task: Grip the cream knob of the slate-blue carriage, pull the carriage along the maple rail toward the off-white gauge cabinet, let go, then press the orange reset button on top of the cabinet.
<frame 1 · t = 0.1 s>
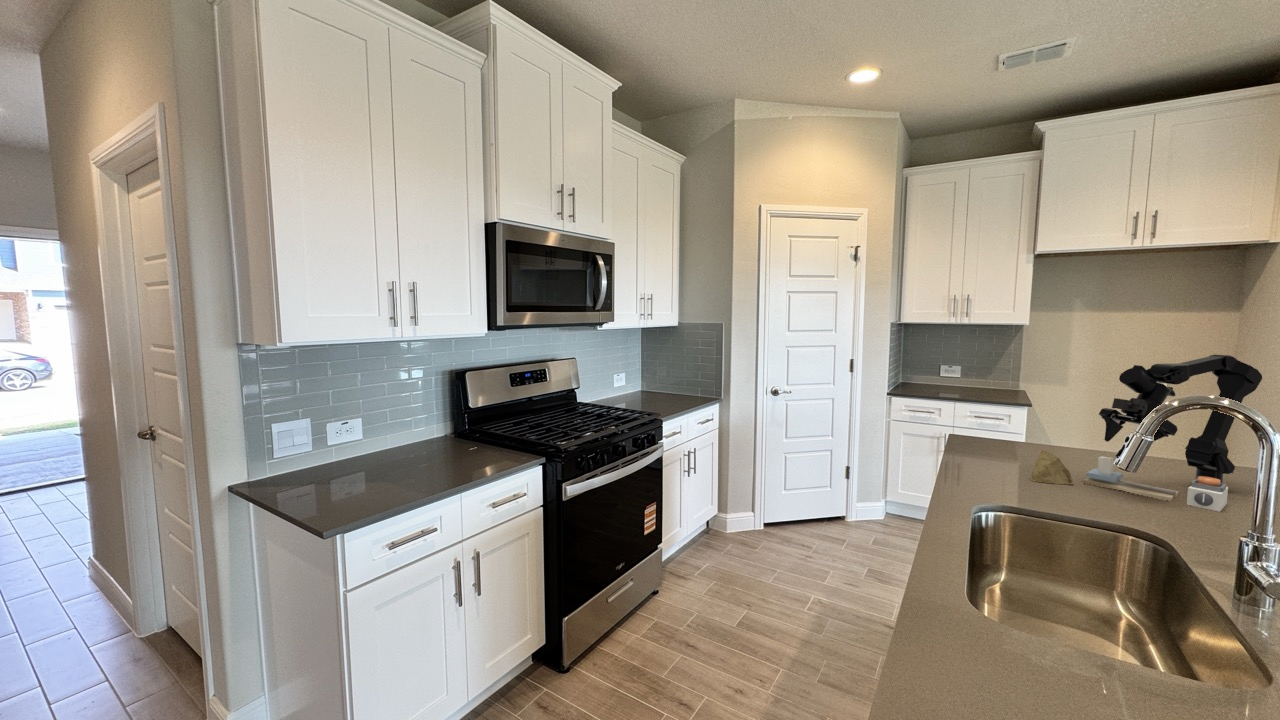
hand: (1120, 444, 157), 15 cm above the worktop, tool tilted 30°, fingers open, 9 cm apart
rock: (1052, 483, 168), on the worktop
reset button: (1208, 481, 147), point 7 cm above the worktop, slide at 0.0 cm
carriage: (1105, 467, 166), point 5 cm above the worktop, slide at 0.0 cm
gauge cabinet: (1206, 504, 148), on the worktop
rail: (1129, 488, 162), on the worktop
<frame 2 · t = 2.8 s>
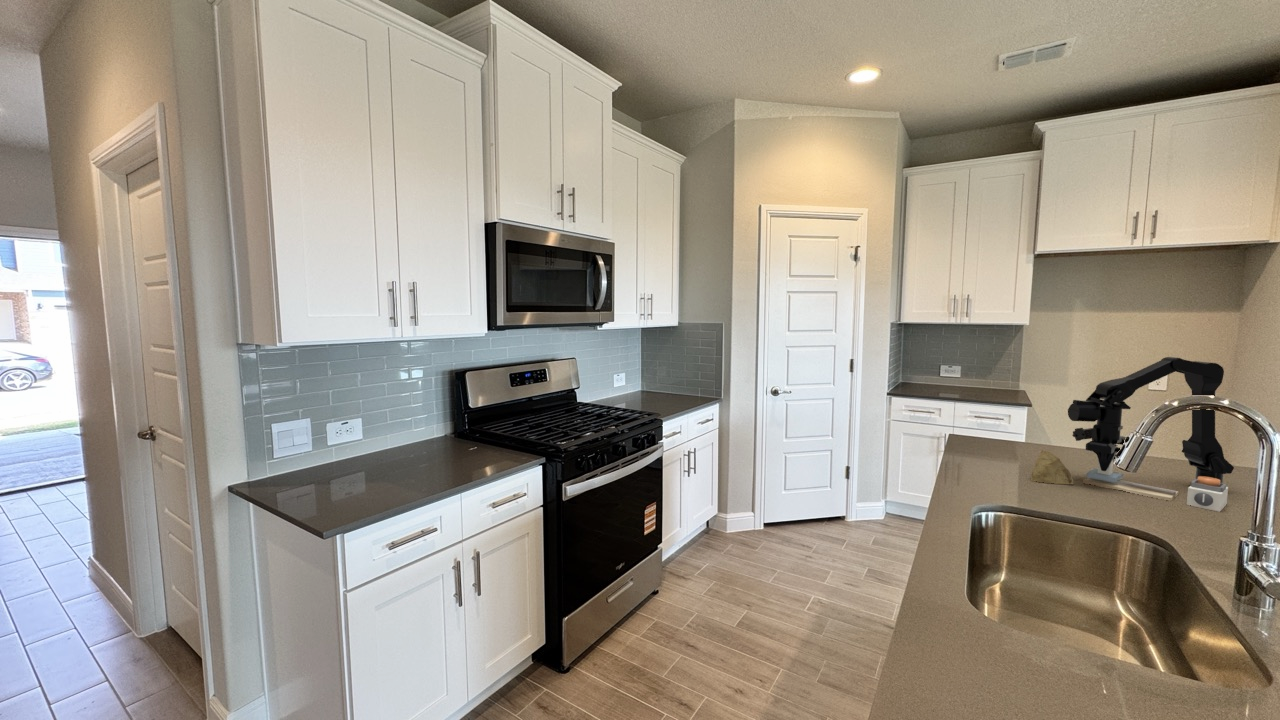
hand: (1105, 470, 166), 5 cm above the worktop, tool pointing down, fingers closed on carriage, 3 cm apart
carriage: (1105, 467, 166), point 5 cm above the worktop, slide at 0.0 cm, touching gripper
everything else where it was.
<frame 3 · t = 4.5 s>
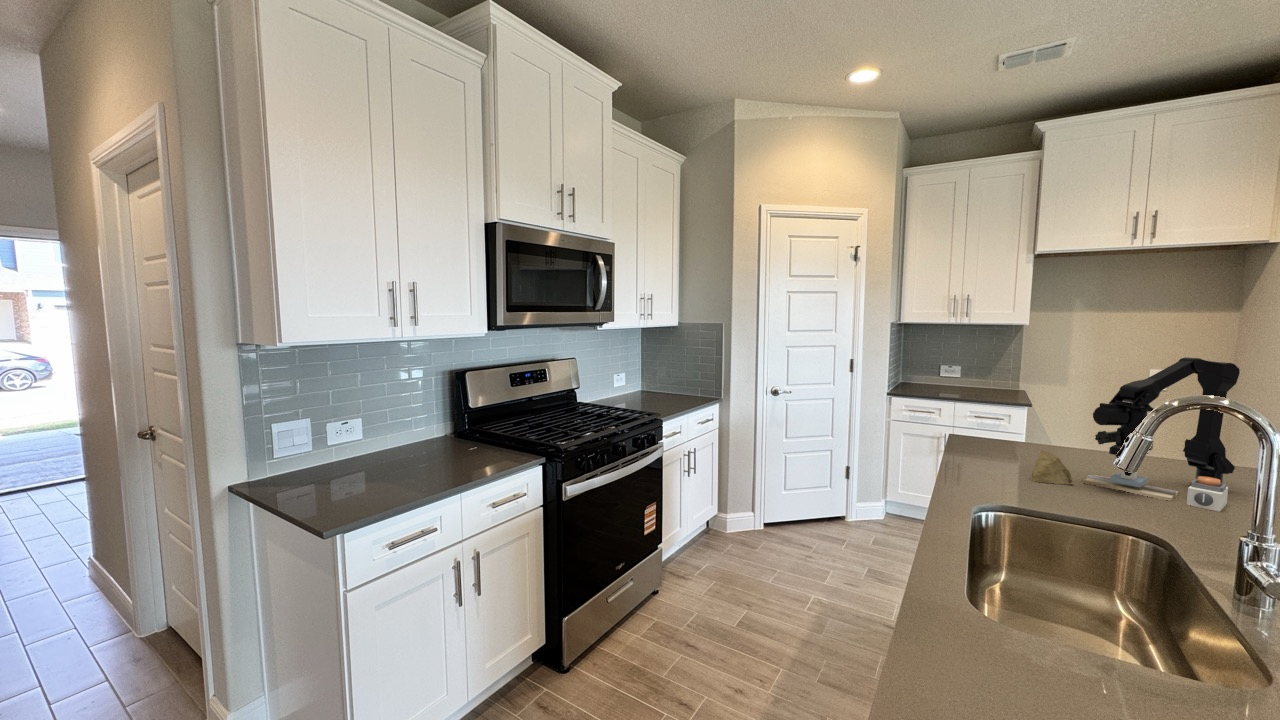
hand: (1129, 474, 161), 5 cm above the worktop, tool pointing down, fingers closed on carriage, 3 cm apart
carriage: (1129, 471, 161), point 5 cm above the worktop, slide at 5.7 cm, touching gripper
everything else where it was.
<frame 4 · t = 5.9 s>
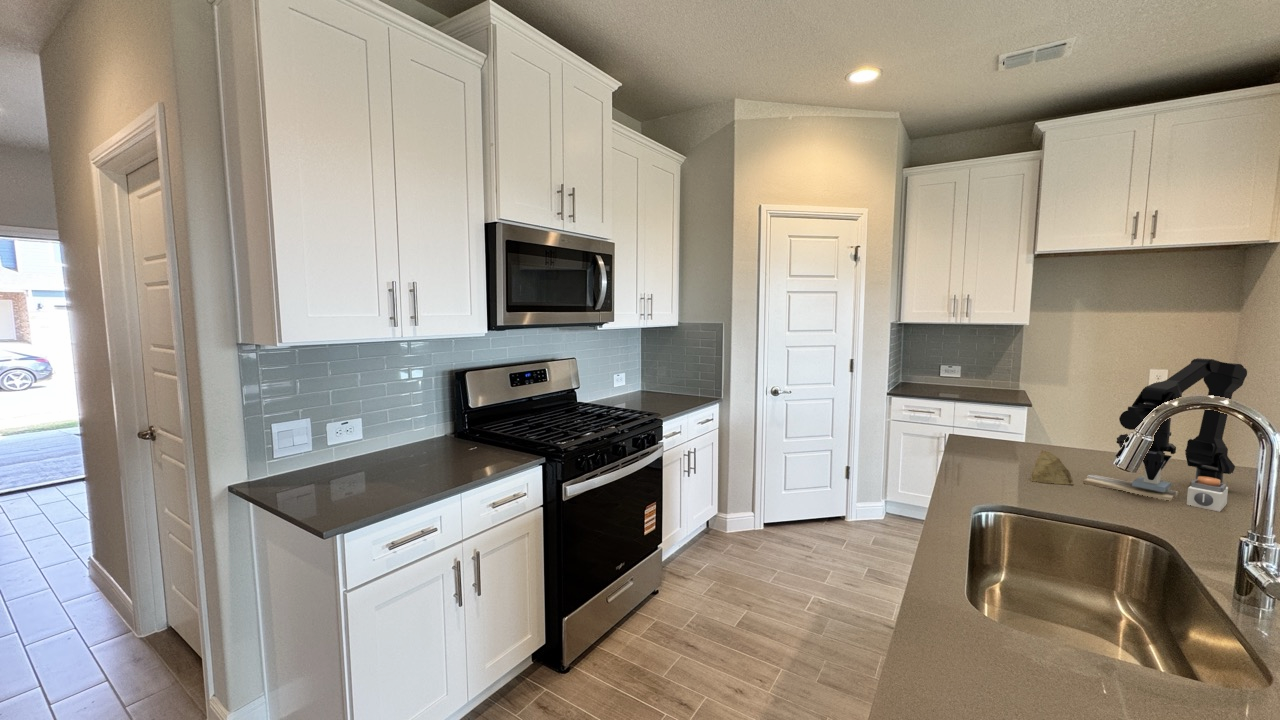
hand: (1152, 478, 157), 5 cm above the worktop, tool pointing down, fingers closed on carriage, 3 cm apart
carriage: (1152, 476, 157), point 5 cm above the worktop, slide at 10.9 cm, touching gripper
everything else where it was.
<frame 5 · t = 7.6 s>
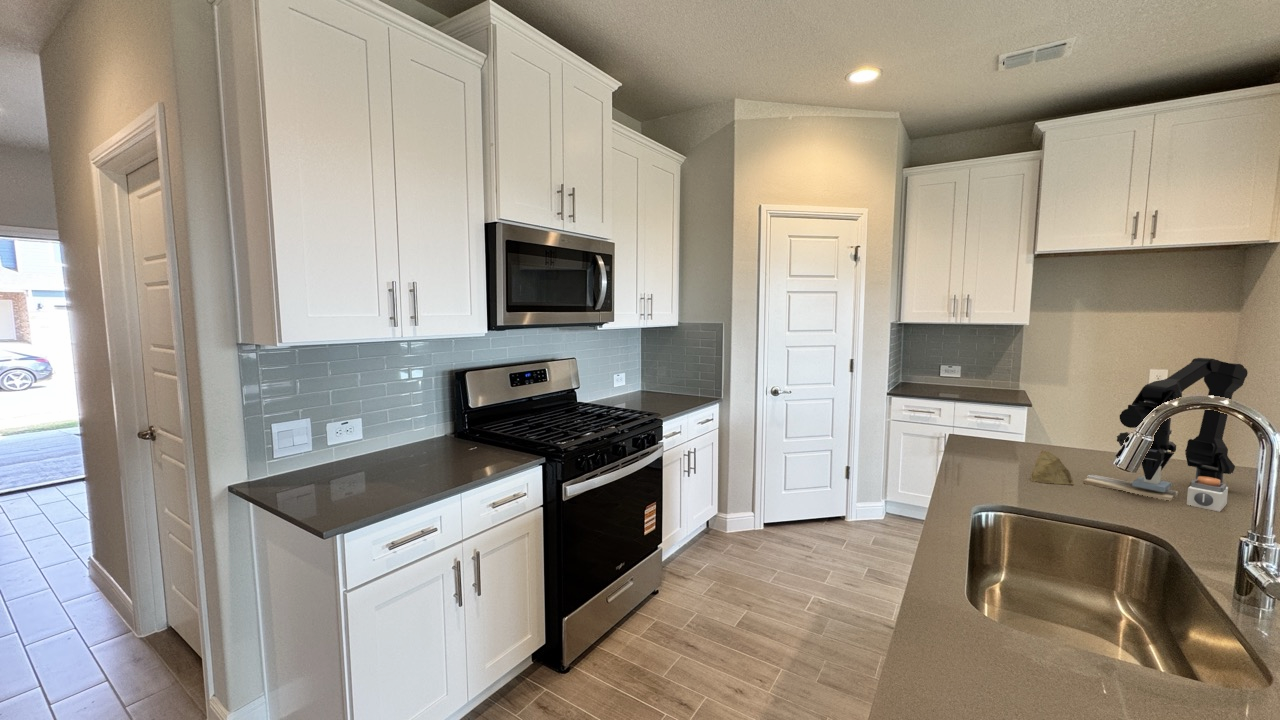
hand: (1152, 477, 157), 5 cm above the worktop, tool pointing down, fingers open, 9 cm apart
carriage: (1152, 476, 157), point 5 cm above the worktop, slide at 10.9 cm
everything else where it was.
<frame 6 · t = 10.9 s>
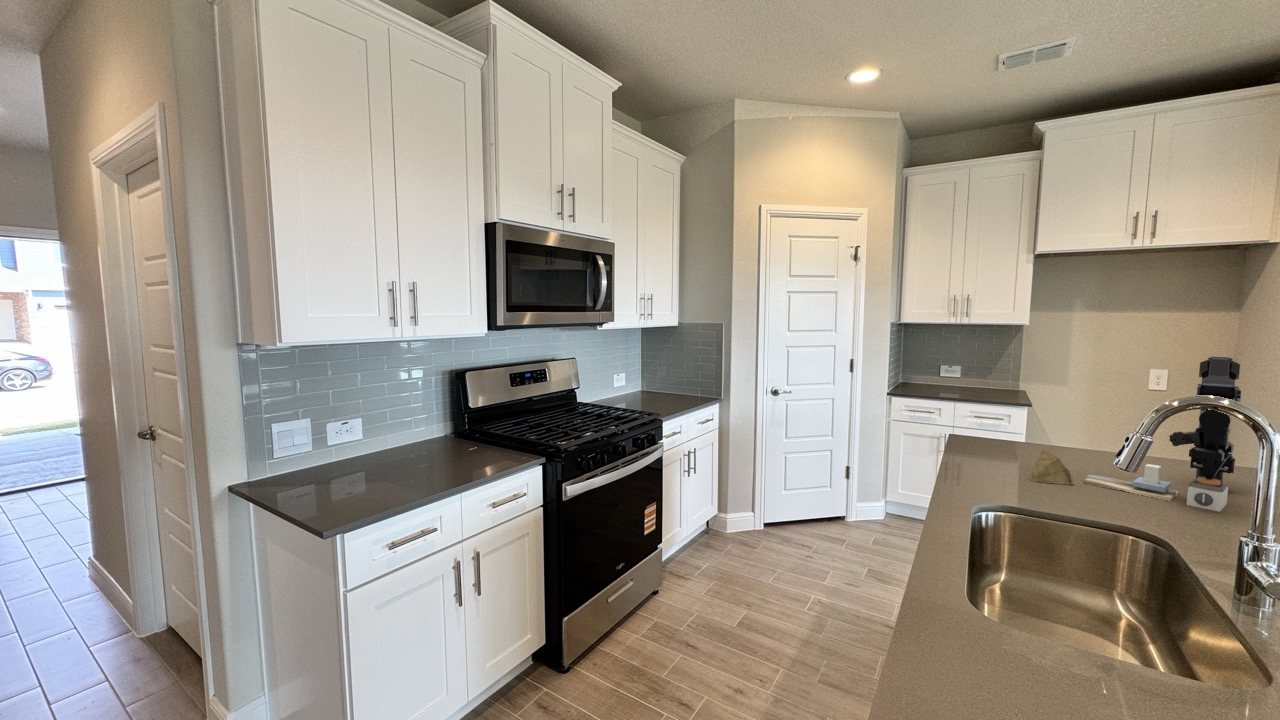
hand: (1208, 479, 147), 7 cm above the worktop, tool pointing down, fingers closed, pressing on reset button
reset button: (1208, 481, 147), point 7 cm above the worktop, slide at 0.2 cm, touching gripper
everything else where it was.
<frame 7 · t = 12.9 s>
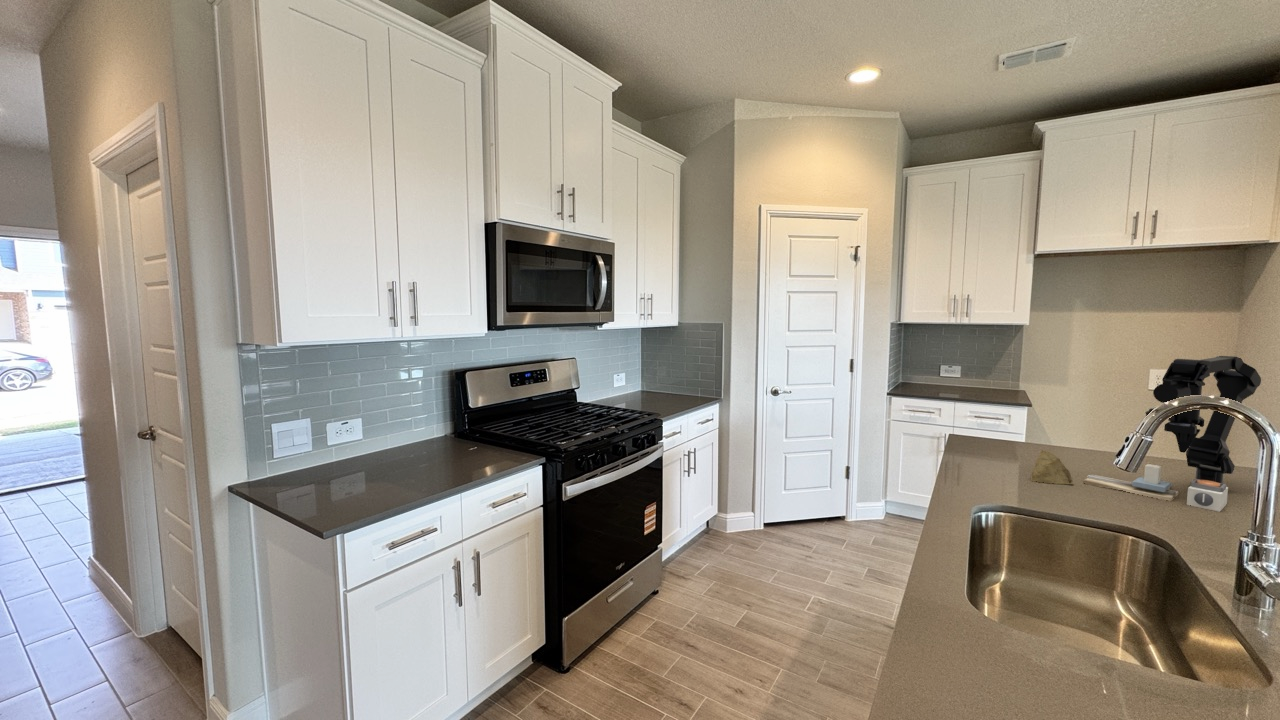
hand: (1182, 452, 156), 13 cm above the worktop, tool pointing down, fingers closed
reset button: (1208, 484, 148), point 6 cm above the worktop, slide at 1.0 cm
everything else where it was.
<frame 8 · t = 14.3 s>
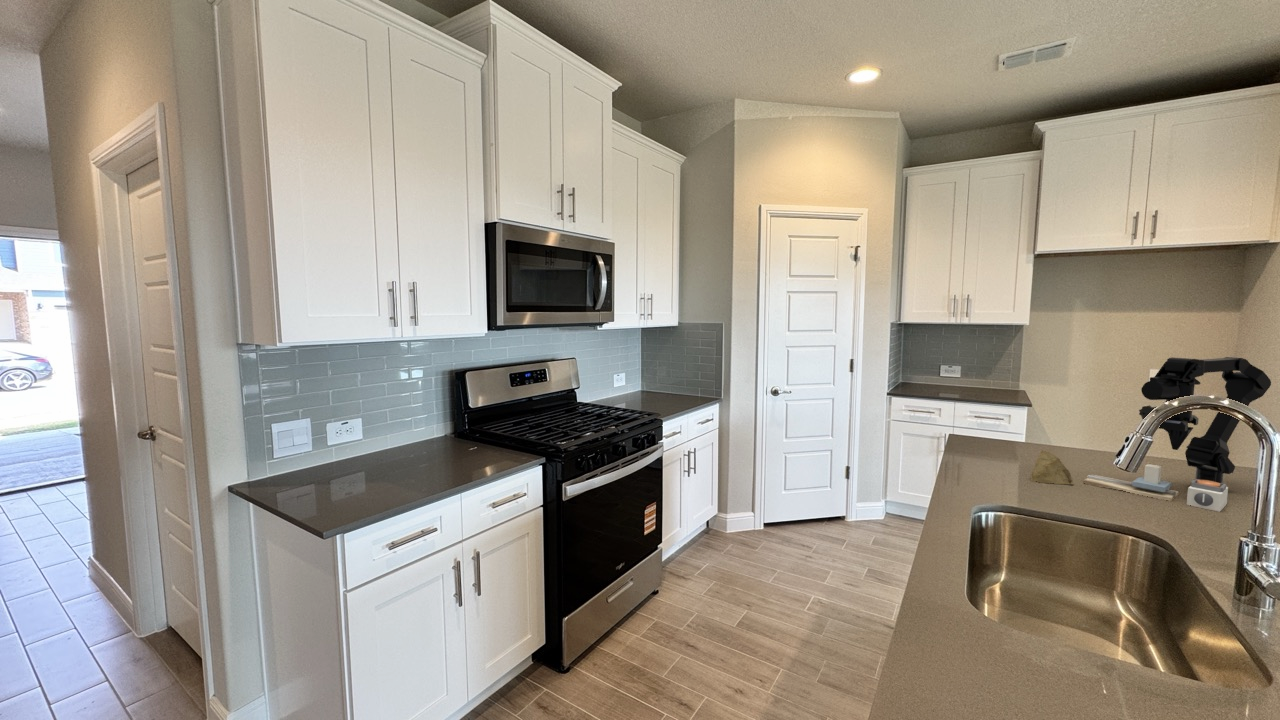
hand: (1175, 449, 158), 13 cm above the worktop, tool pointing down, fingers closed
nothing on the worktop moved.
at the end: carriage slide at 10.9 cm; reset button slide at 1.0 cm; the gripper is holding nothing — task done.
